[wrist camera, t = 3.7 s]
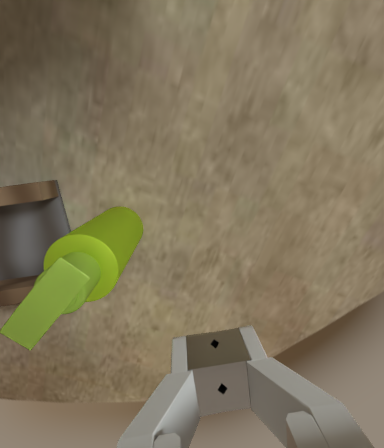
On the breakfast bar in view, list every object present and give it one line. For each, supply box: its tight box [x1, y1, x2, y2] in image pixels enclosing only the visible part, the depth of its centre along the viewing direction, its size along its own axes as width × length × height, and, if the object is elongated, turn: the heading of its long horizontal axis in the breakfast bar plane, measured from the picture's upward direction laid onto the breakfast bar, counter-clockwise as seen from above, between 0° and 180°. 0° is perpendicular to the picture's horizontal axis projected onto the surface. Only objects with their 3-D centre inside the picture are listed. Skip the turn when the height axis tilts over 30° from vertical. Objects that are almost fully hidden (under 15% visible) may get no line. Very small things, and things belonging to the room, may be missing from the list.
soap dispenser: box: [0, 207, 143, 350], centre depth 22 cm, size 6×7×20 cm
